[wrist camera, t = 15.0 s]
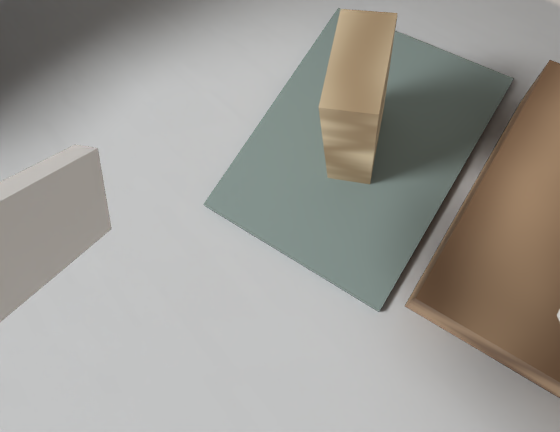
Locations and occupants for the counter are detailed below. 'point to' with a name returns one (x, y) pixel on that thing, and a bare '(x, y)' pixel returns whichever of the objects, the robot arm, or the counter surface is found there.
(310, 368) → the counter surface
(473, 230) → the walnut block
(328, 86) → the birch block
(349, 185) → the rubber mat
